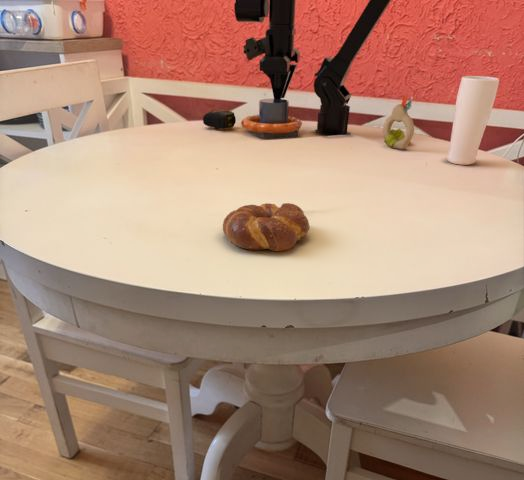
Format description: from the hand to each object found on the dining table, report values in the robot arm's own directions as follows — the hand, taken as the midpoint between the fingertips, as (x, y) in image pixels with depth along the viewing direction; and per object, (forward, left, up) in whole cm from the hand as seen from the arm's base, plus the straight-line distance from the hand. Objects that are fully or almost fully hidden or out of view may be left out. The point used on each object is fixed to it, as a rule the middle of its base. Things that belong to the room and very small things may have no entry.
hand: (279, 100), depth 121 cm
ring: (+4, +5, -4) cm, 8 cm away
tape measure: (+14, -3, -7) cm, 16 cm away
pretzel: (+32, +65, -7) cm, 72 cm away
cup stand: (+4, +6, -6) cm, 9 cm away
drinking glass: (-21, +42, -7) cm, 47 cm away
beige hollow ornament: (-18, +27, -7) cm, 33 cm away
